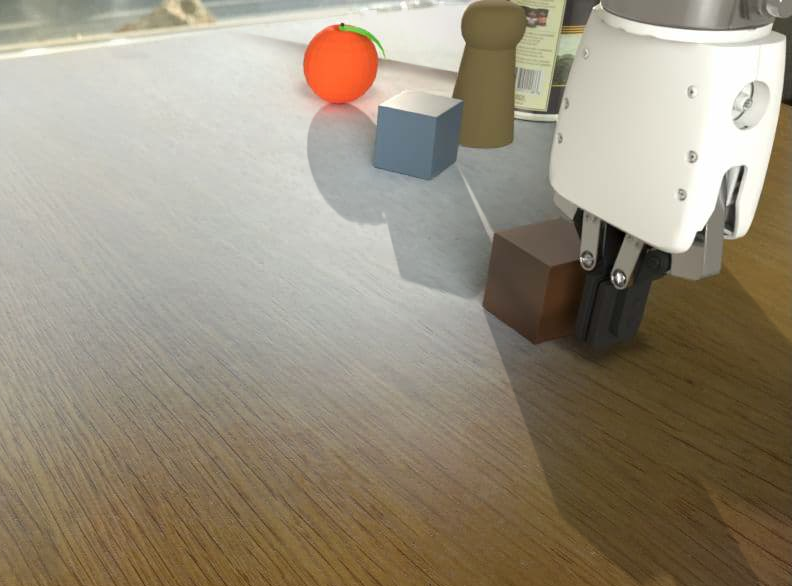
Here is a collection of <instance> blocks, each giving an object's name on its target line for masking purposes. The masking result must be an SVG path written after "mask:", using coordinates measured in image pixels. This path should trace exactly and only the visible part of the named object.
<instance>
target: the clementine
mask: <svg viewBox="0 0 792 586" xmlns="http://www.w3.org/2000/svg"><path fill="white" fill-rule="evenodd" d="M375 44H376V45H377V46H378V48H379V49H380V51H381V52H382V55H383V57H384V60H385V61H387V58H386V54H385V50H384V48H383V45H382V44H381V43H380V40H379V39H377V37H375V35H374V34H372V33H371V32H370V31H368V30H367V29H364V28H361V27H359V26H355V25H351V24H347V23H346V24H345V22H340V23H339V24H331V25H328V26H325V28H323V29H321V30H320V31H319V32H317V33H316V34H315V35H314V36H313V38H311V40H310V41H309V43H308V45H307V47H306V49H305V52H304V56H303V62H302V68H303V69H302V70H303V75H304V78H305V81H306V83H307V85H308V87H309V88H310V89H311V91H312V92H313V94H315V95H316V96H317V97H318V98H320V99H322V100H323V101H325V102H329V103H332V104H339V105H340V104H347V103H351V102H354V101H356V100H358V99H360V98H361V97H362V96H364V95H365V94H366V93H367V92H368V91H369V90H370V89H371V88H372V86H373V84H374V82H375V80H376V78H377V73H378V69H379V53H378V51H377V48H376V45H375Z"/></svg>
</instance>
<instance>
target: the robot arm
mask: <svg viewBox="0 0 792 586" xmlns="http://www.w3.org/2000/svg"><path fill="white" fill-rule="evenodd" d="M790 17H792V0H600V4H598V5H596V6H594V7H593V10H592V12H591V14H590V17H589V19H588V22H587V24H586V27H585V29H584V32H583V35H582V37H581V40H580V43H579V46H578V48H577V51H576V54H575V58H574V61H573V64H572V67H571V70H570V73H569V77H568V80H567V84H566V87H565V91H564V95H563V99H562V103H561V107H560V111H559V115H558V119H557V122H556V123H555V124H556V125H555V128H554V134H553V139H552V144H551V149H550V150H551V151H550V158H549V159H550V160H549V169H548V178H549V184H550V185H551V187H552V188H553V190H554V191H553V194H552V201H553V204H554V205H555V207H556V208H557V209H558V210H560V211H561V213H563V214H564V215H565V216H566V217H567V218H568V219H569V220H570V222H573V224H574V225H575V228H576V231H577V233H578V236H579V239H580V241H581V246H580V256H579V260H580V264H581V266H582V267H583V268H584V269H585V270H587V271H588V273H587V275H586V279H585V284H584V288H583V293H582V297H581V301H580V306H579V310H578V315H577V319H576V324H575V328H574V334H573V336H574V337H575V338H577V339H578V340H580V342H581V341H582V342H584V341H586V345H587V346H588V347H590V348H591V349H593V350H595V351H597V350H601V349H605V348H608V347H611V346H614V345H617V344H621V343H624V342H628V341H631V340H633V339H634V338H635V337H636V336H637V334H638V332H639V330H640V327H641V324H642V320H643V316H644V312H645V309H646V306H647V301H648V297H649V294H650V292H651V291H650V290H651V288H652V287H651V286H652V283H653V282H655V281H658V280H661V279H664V277H666V276H667V275H669V276H670V277H673V278H674V277H675V278H678V279H682V280H687V281H692V282H700V281H704V280H707V279H710V278H714V277H716V276H719V274H720V273H721V270H722V263H723V249H724V240H737V239H740V238H743V237H744V236H745V235H746V234H747V233H748V232H749V229H750V228H751V225H752V222H753V220H754V218H755V214H756V210H757V208H758V204H759V201H760V197H761V194H762V191H763V187H764V183H765V179H766V176H767V171H768V168H769V163H770V159H771V155H772V150H773V146H774V141H775V138H776V137H775V136H776V131H777V128H778V127H777V126H778V121H779V117H780V110H781V104H782V96H783V90H784V82H785V71H786V59H787V58H786V57H787V55H786V54H787V35H786V34H783V33H781V32H778V31H776V30H772V29H773V26H774V23H775V21H776V18H780V19H788V18H790Z"/></svg>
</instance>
